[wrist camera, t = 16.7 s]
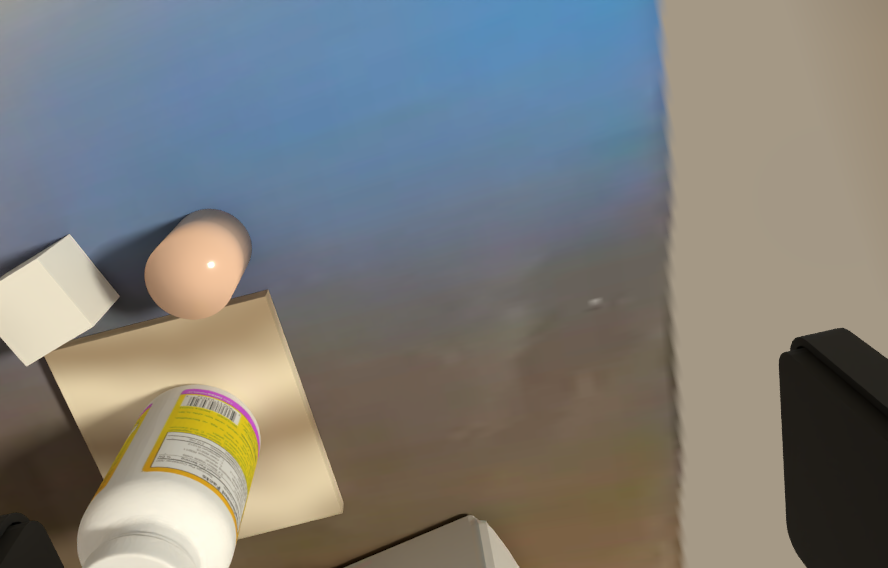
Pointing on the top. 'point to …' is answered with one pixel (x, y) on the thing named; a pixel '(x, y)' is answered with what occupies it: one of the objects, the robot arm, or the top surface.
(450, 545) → the stereo radio cassette player
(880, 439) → the robot arm
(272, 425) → the ash board
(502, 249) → the top surface
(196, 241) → the peach rounded capsule
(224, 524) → the supplement bottle
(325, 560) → the top surface
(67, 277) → the off-white block
